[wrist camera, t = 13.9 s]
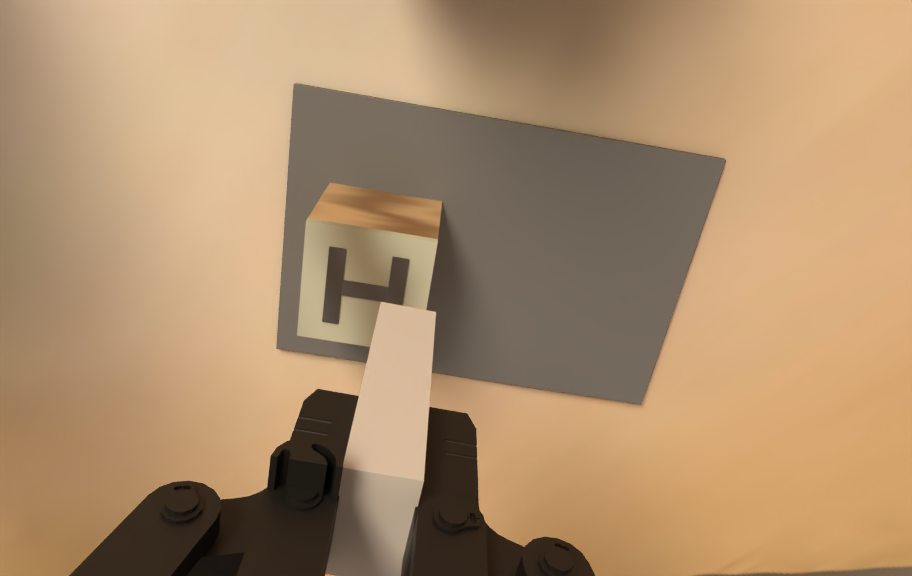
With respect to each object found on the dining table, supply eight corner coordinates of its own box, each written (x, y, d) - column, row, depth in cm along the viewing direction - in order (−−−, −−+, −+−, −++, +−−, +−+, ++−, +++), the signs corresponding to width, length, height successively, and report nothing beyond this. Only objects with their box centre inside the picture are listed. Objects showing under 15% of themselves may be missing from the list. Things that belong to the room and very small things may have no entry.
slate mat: (278, 345, 48) (276, 348, 47) (295, 83, 40) (293, 84, 40) (639, 401, 49) (641, 404, 49) (723, 158, 42) (726, 160, 41)
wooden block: (418, 355, 39) (425, 300, 46) (437, 243, 36) (442, 201, 43) (296, 336, 39) (320, 284, 45) (305, 221, 36) (329, 182, 42)
